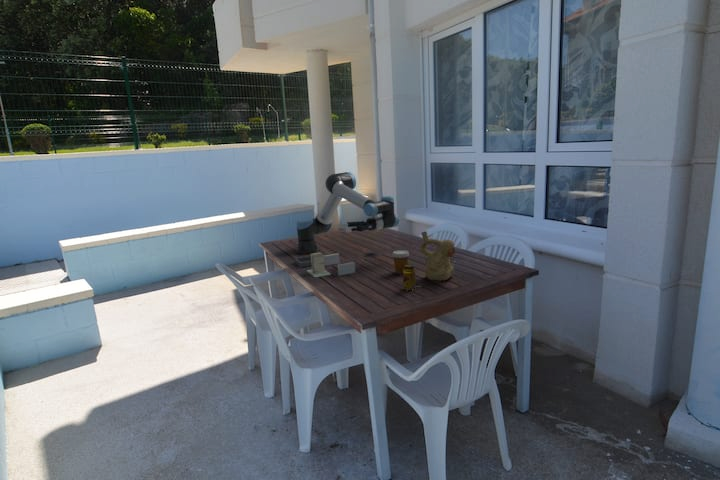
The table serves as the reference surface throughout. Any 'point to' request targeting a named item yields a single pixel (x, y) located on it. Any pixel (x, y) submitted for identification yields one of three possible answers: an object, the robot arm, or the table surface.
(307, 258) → the tray
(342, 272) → the walled passage
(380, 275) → the table surface
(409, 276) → the condiment
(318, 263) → the birch block
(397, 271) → the disposable coffee cup
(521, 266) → the table surface
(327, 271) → the pad
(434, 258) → the ceramic vessel
